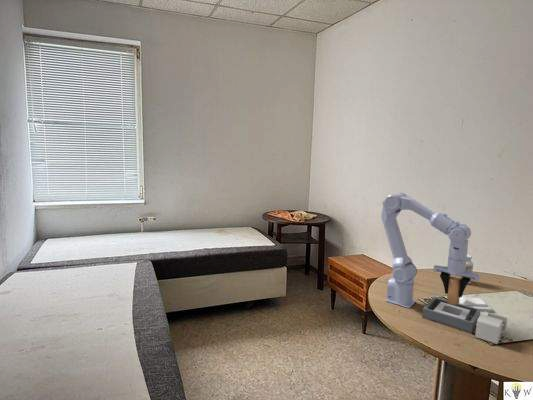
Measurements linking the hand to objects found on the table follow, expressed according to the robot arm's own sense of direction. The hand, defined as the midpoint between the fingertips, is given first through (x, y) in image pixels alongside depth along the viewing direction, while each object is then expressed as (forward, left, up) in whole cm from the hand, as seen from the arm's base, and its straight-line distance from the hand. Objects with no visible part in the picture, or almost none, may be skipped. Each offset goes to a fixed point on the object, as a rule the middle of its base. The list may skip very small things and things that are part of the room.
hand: (453, 294), depth 126 cm
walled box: (0, 0, -9) cm, 9 cm away
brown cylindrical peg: (0, 0, -3) cm, 3 cm away
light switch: (+3, +18, -10) cm, 21 cm away
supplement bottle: (-5, +44, -9) cm, 45 cm away
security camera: (+13, 0, -6) cm, 14 cm away
